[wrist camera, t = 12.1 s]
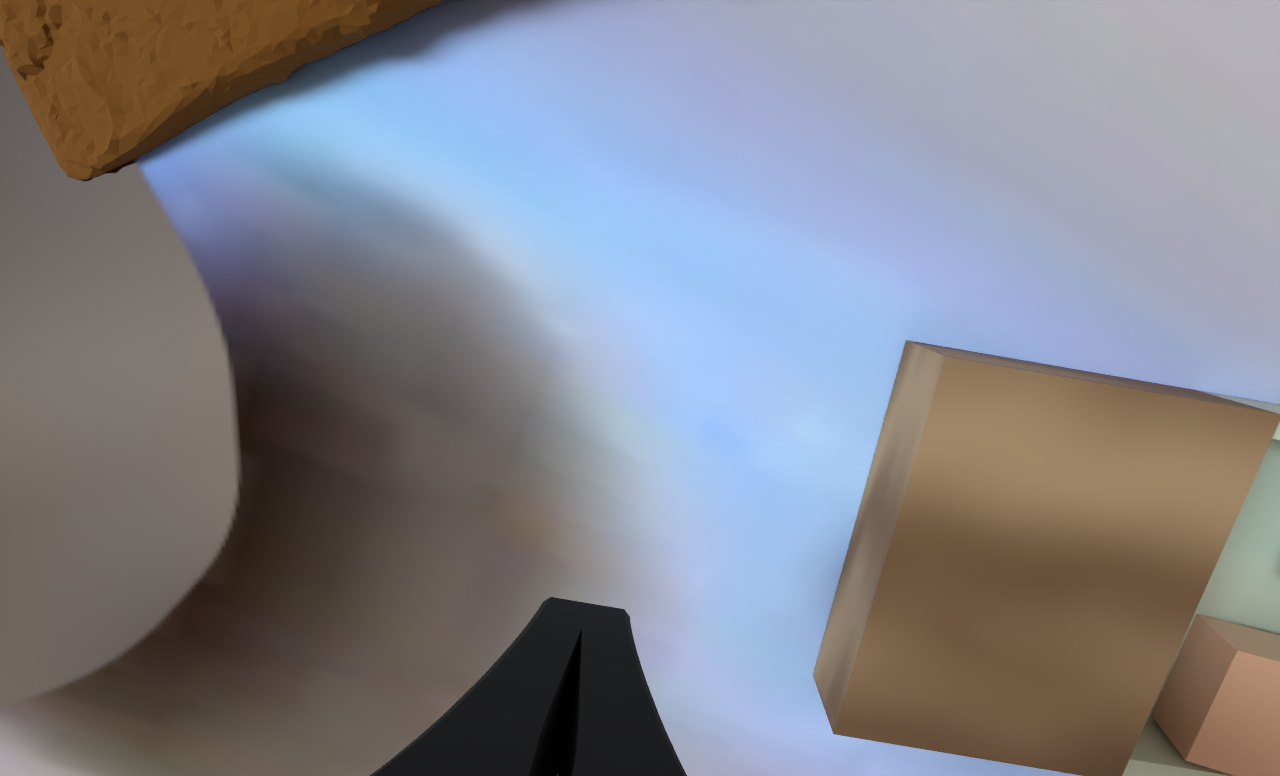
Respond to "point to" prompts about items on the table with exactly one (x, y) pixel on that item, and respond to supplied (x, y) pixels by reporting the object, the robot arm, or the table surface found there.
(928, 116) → the table surface
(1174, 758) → the tray
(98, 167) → the primitive tool
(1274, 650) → the terracotta tile
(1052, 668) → the walnut board
